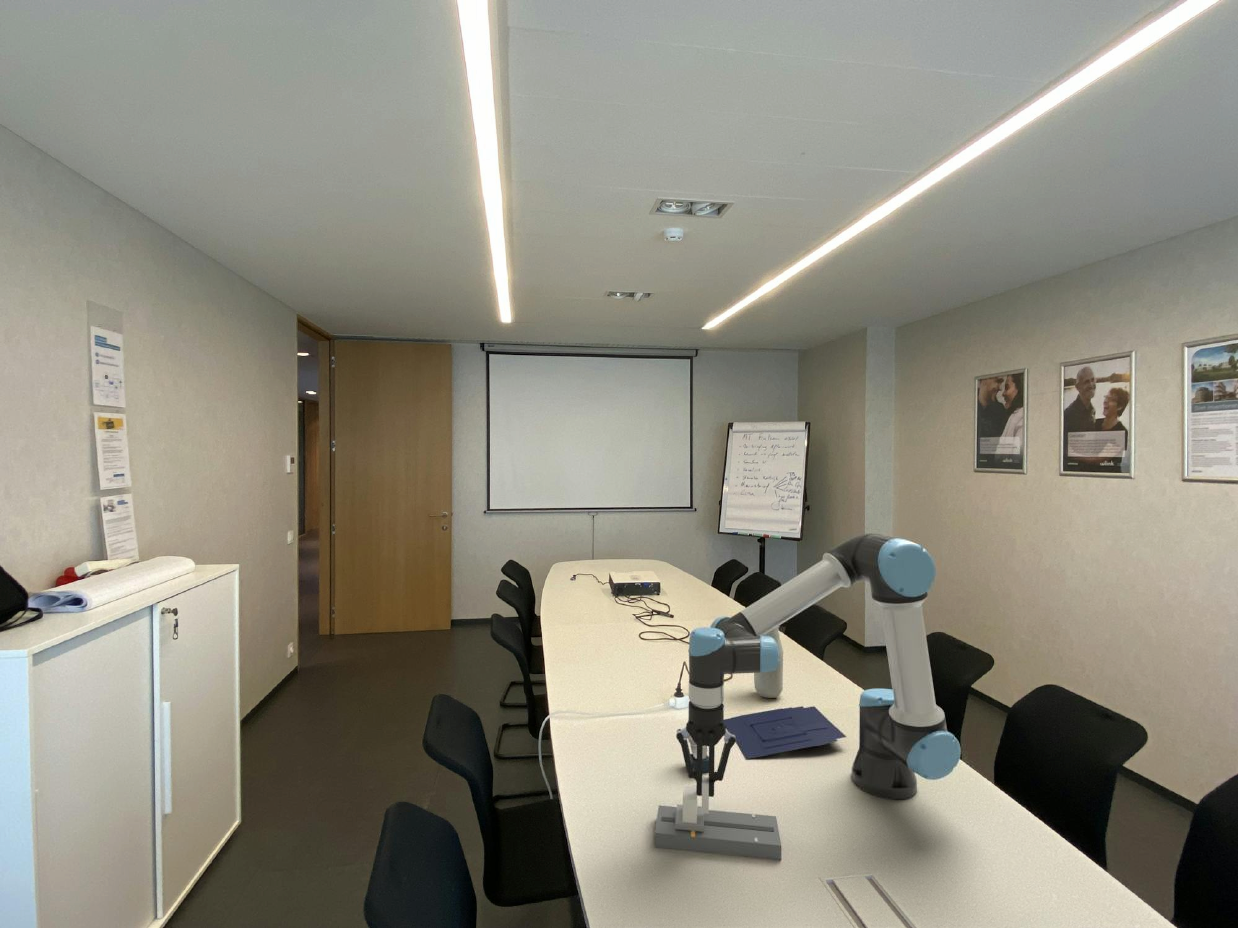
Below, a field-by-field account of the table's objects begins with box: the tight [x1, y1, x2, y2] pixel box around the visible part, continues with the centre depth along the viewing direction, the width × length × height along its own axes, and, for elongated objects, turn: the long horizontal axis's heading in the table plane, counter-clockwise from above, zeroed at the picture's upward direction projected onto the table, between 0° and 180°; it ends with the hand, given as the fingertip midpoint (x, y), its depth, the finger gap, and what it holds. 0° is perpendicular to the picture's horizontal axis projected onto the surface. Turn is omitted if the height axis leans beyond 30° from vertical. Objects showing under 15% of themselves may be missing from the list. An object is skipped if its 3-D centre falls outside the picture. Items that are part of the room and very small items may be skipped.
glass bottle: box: [753, 625, 784, 699], centre depth 205 cm, size 10×10×28 cm
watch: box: [687, 733, 709, 774], centre depth 157 cm, size 6×8×11 cm
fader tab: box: [675, 784, 704, 832], centre depth 130 cm, size 6×7×6 cm
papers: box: [724, 705, 847, 760], centre depth 176 cm, size 24×30×4 cm
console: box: [654, 804, 782, 861], centre depth 129 cm, size 26×10×3 cm, turn 81°
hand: (705, 809), depth 129 cm, fingers closed
